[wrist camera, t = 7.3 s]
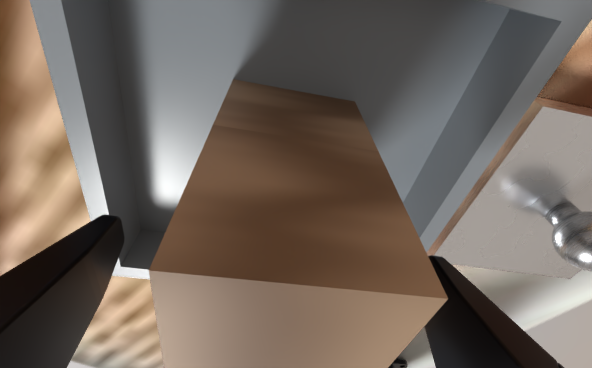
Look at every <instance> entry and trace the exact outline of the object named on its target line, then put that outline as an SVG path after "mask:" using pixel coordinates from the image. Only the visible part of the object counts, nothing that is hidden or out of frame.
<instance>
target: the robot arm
mask: <svg viewBox="0 0 592 368" xmlns="http://www.w3.org/2000/svg"><path fill="white" fill-rule="evenodd" d="M124 241H125V236H124V231H123V226H122V221H121V218H120V217H119V216H114V215H106V214H105V215H101V216H99V217H97V218H96V219H94V220H92V221H91V222H89V223H87V224H86V225H84V226H82V227H81V228H79V229H78V230H76V231H74V232H73V233H71V234H69V235H68V236H66V237H64V238H63V239H61V240H59V241H58V242H56V243H54V244H53V245H51V246H49V247H48V248H46V249H44V250H43V251H41V252H39V253H38V254H36V255H35V256H33V257H31V258H30V259H28V260H26V261H25V262H23V263H21V264H20V265H18V266H16V267H15V268H13V269H11V270H10V271H8V272H6V273H5V274H3V275H1V276H0V368H67V366H68V364H69V362H70V360H71V358H72V357H73V355H74V353H75V351H76V349H77V347H78V345H79V343H80V341H81V339H82V337H83V336H84V334H85V332H86V330H87V328H88V326H89V324H90V322H91V320H92V318H93V316H94V314H95V313H96V311H97V309H98V307H99V305H100V303H101V301H102V299H103V296H104V294H105V292H106V289H107V287H108V284H109V282H110V279H111V276H112V274H113V271H114V269H115V266H116V263H117V261H118V258H119V256H120V253H121V250H122V248H123V245H124ZM428 257H429V259H430V261H431V264H432V266H433V268H434V270H435V272H436V274H437V276H438V278H439V280H440V283H441V285H442V287H443V289H444V291H445V293H446V295H447V297H448V300H447V301H446V302H445V303H444V304H443V305H442V307H441V308H440V309H439V310H438V311H437V312H436V313H435V315H434V316H433V317H432V318H431V319H430V320H429V321H428V323H427V324H426V325H425V330H426V334H427V337H428V341H429V344H430V348H431V352H432V355H433V359H434V362H435V366H436V368H564V367H563V366H562V365H561V364H559V363H557V361H556V360H555V359H554V358H553V357H552V356H551V355H550V354H548V353H547V352H546V351H545V350H544V349H543V348H542V347H541V346H540V345H539V344H538V343H536V342H535V341H534V340H533V339H532V338H531V337H530V336H529V335H528V334H527V333H526V332H525V331H523V330H522V329H521V328H520V327H519V326H518V325H517V324H516V323H515V322H514V321H513V320H511V319H510V318H509V317H508V316H507V315H506V314H505V313H504V312H503V311H502V310H501V309H499V308H498V307H497V306H496V305H495V304H494V303H493V302H492V301H491V300H490V299H488V298H487V297H486V296H485V295H484V294H483V293H482V292H481V291H480V290H479V289H478V288H476V287H475V286H474V285H473V284H472V283H471V282H470V281H469V280H468V279H467V278H466V277H464V276H463V275H462V274H461V273H460V272H459V271H458V270H457V269H456V268H455V267H454V266H452V265H451V264H450V263H449V262H448V261H447V260H446V259H445V258H443V257H441V256H434V255H430V256H428ZM406 367H407V362H406V360H400V359H395V360H394V362H393V363H392V364H391V365H390V366H389V367H388V368H406Z"/></svg>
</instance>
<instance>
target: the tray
mask: <svg viewBox="0 0 592 368" xmlns="http://www.w3.org/2000/svg"><path fill="white" fill-rule="evenodd" d="M30 3H31V7H32V10H33V14H34V18H35V21H36V25H37V28H38V32H39V36H40V39H41V43H42V46H43V50H44V54H45V57H46V61H47V65H48V68H49V72H50V75H51V79H52V83H53V86H54V90H55V93H56V97H57V101H58V104H59V108H60V111H61V115H62V119H63V122H64V126H65V129H66V133H67V137H68V140H69V144H70V147H71V151H72V155H73V158H74V162H75V165H76V169H77V173H78V176H79V180H80V184H81V187H82V191H83V194H84V198H85V202H86V205H87V209H88V212H89V216H90V220H91V221H92V220H94V219H96V218H97V217H99V216H101V215H105V214H106V215H114V216H119V217H120V218H121V221H122V226H123V231H124V236H125V241H124V245H123V248H122V250H121V253H120V256H119V258H118V261H117V263H116V266H115V269H114V271H113V274H112V276H121V277H131V278H141V279H150V276H149V268H150V266H151V264H152V262H153V259H154V257H155V255H156V253H157V250H158V248H159V246H160V243H161V241H162V239H163V237H164V234H165V232H166V230H167V228H168V225H169V223H170V221H171V219H172V216H173V214H174V212H175V210H176V207H177V205H178V203H179V200H180V198H181V196H182V194H183V191H184V189H185V187H186V185H187V182H188V180H189V178H190V176H191V173H192V171H193V169H194V166H195V164H196V162H197V160H198V157H199V155H200V153H201V151H202V148H203V146H204V144H205V142H206V139H207V137H208V135H209V132H210V130H211V128H212V126H213V123H214V121H215V119H216V117H217V114H218V112H219V110H220V108H221V105H222V103H223V101H224V98H225V96H226V94H227V92H228V89H229V87H230V85H231V83H232V80H233V79H235V80H240V81H246V82H251V83H257V84H262V85H268V86H273V87H278V88H284V89H289V90H295V91H300V92H306V93H311V94H317V95H322V96H328V97H333V98H338V99H344V100H349V101H355V103H356V105H357V107H358V109H359V111H360V113H361V115H362V118H363V120H364V122H365V124H366V126H367V128H368V130H369V132H370V135H371V137H372V139H373V141H374V143H375V145H376V147H377V149H378V151H379V154H380V156H381V158H382V160H383V162H384V164H385V166H386V168H387V170H388V173H389V175H390V177H391V179H392V181H393V183H394V185H395V187H396V190H397V192H398V194H399V196H400V198H401V200H402V202H403V204H404V206H405V209H406V211H407V213H408V215H409V217H410V219H411V221H412V223H413V225H414V228H415V230H416V232H417V234H418V236H419V238H420V240H421V242H422V245H423V247H424V249H425V251H426V253H427V251H428V250H429V249H430V247H431V246H432V244H433V243H434V242H435V240H436V239H437V237H438V236H439V234H440V233H441V232H442V230H443V229H444V227H445V226H446V225H447V223H448V222H449V220H450V219H451V217H452V216H453V215H454V213H455V212H456V210H457V209H458V208H459V206H460V205H461V203H462V202H463V200H464V199H465V198H466V196H467V195H468V193H469V192H470V191H471V189H472V188H473V186H474V185H475V183H476V182H477V181H478V179H479V178H480V176H481V175H482V174H483V172H484V171H485V169H486V168H487V166H488V165H489V164H490V162H491V161H492V159H493V158H494V157H495V155H496V154H497V152H498V151H499V149H500V148H501V147H502V145H503V144H504V142H505V141H506V140H507V138H508V137H509V135H510V134H511V132H512V131H513V130H514V128H515V127H516V125H517V124H518V123H519V121H520V120H521V118H522V117H523V116H524V114H525V113H526V111H527V110H528V108H529V107H530V106H531V104H532V103H533V101H534V100H535V99H536V97H537V96H538V94H539V93H540V91H541V90H542V89H543V87H544V86H545V84H546V83H547V82H548V80H549V79H550V77H551V76H552V74H553V73H554V72H555V70H556V69H557V67H558V66H559V65H560V63H561V62H562V60H563V59H564V57H565V56H566V55H567V53H568V52H569V50H570V49H571V48H572V46H573V45H574V43H575V42H576V40H577V39H578V38H579V36H580V35H581V33H582V32H583V31H584V29H585V28H586V26H587V25H588V23H589V22H590V21H591V19H592V0H30Z"/></svg>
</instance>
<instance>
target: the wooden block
mask: <svg viewBox="0 0 592 368" xmlns="http://www.w3.org/2000/svg"><path fill="white" fill-rule="evenodd" d="M149 276H150V283H151V289H152V295H153V301H154V308H155V314H156V320H157V327H158V333H159V339H160V346H161V352H162V358H163V364H164V368H388V367H389V366H390V365H391V364H392V363H393V362H394V360H395V359H396V358H397V357H398V356H399V355H400V354H401V352H402V351H403V350H404V349H405V348H406V347H407V345H408V344H409V343H410V342H411V341H412V340H413V339H414V337H415V336H416V335H417V334H418V333H419V332H420V331H421V329H422V328H423V327H424V326H425V325H426V324H427V323H428V321H429V320H430V319H431V318H432V317H433V316H434V315H435V313H436V312H437V311H438V310H439V309H440V308H441V307H442V305H443V304H444V303H445V302H446V301H447V300H448V297H447V295H446V293H445V291H444V289H443V287H442V285H441V283H440V280H439V278H438V276H437V274H436V272H435V270H434V268H433V266H432V264H431V261H430V259H429V257H428V255H427V253H426V251H425V249H424V247H423V245H422V242H421V240H420V238H419V236H418V234H417V232H416V230H415V228H414V225H413V223H412V221H411V219H410V217H409V215H408V213H407V211H406V209H405V206H404V204H403V202H402V200H401V198H400V196H399V194H398V192H397V190H396V187H395V185H394V183H393V181H392V179H391V177H390V175H389V173H388V170H387V168H386V166H385V164H384V162H383V160H382V158H381V156H380V154H379V151H378V149H377V147H376V145H375V143H374V141H373V139H372V137H371V135H370V132H369V130H368V128H367V126H366V124H365V122H364V120H363V118H362V115H361V113H360V111H359V109H358V107H357V105H356V103H355V101H349V100H344V99H338V98H333V97H328V96H322V95H317V94H311V93H306V92H300V91H295V90H289V89H284V88H278V87H273V86H268V85H262V84H257V83H251V82H246V81H240V80H235V79H233V80H232V83H231V85H230V87H229V89H228V92H227V94H226V96H225V98H224V101H223V103H222V105H221V108H220V110H219V112H218V114H217V117H216V119H215V121H214V123H213V126H212V128H211V130H210V132H209V135H208V137H207V139H206V142H205V144H204V146H203V148H202V151H201V153H200V155H199V157H198V160H197V162H196V164H195V166H194V169H193V171H192V173H191V176H190V178H189V180H188V182H187V185H186V187H185V189H184V191H183V194H182V196H181V198H180V200H179V203H178V205H177V207H176V210H175V212H174V214H173V216H172V219H171V221H170V223H169V225H168V228H167V230H166V232H165V234H164V237H163V239H162V241H161V243H160V246H159V248H158V250H157V253H156V255H155V257H154V259H153V262H152V264H151V266H150V268H149Z"/></svg>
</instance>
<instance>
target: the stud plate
mask: <svg viewBox="0 0 592 368" xmlns="http://www.w3.org/2000/svg"><path fill="white" fill-rule="evenodd" d="M427 255H428V256H430V255H434V256H441V257H443V258H445V259H446V260H447V261H448V262H449V263H450V264H453V265H462V266H470V267H478V268H486V269H494V270H503V271H511V272H519V273H527V274H536V275H544V276H552V277H560V278H568V279H570V278H572V277H573V276H574V275H575V274H577V273H578V272H579V271H580V270H581V269H584V270H588V271H592V109H591V108H586V107H582V106H577V105H572V104H568V103H563V102H559V101H554V100H550V99H545V98H540V97H536V99H535V100H534V101H533V103H532V104H531V106H530V107H529V108H528V110H527V111H526V113H525V114H524V116H523V117H522V118H521V120H520V121H519V123H518V124H517V125H516V127H515V128H514V130H513V131H512V132H511V134H510V135H509V137H508V138H507V140H506V141H505V142H504V144H503V145H502V147H501V148H500V149H499V151H498V152H497V154H496V155H495V157H494V158H493V159H492V161H491V162H490V164H489V165H488V166H487V168H486V169H485V171H484V172H483V174H482V175H481V176H480V178H479V179H478V181H477V182H476V183H475V185H474V186H473V188H472V189H471V191H470V192H469V193H468V195H467V196H466V198H465V199H464V200H463V202H462V203H461V205H460V206H459V208H458V209H457V210H456V212H455V213H454V215H453V216H452V217H451V219H450V220H449V222H448V223H447V225H446V226H445V227H444V229H443V230H442V232H441V233H440V234H439V236H438V237H437V239H436V240H435V242H434V243H433V244H432V246H431V247H430V249H429V250H428V251H427Z"/></svg>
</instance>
